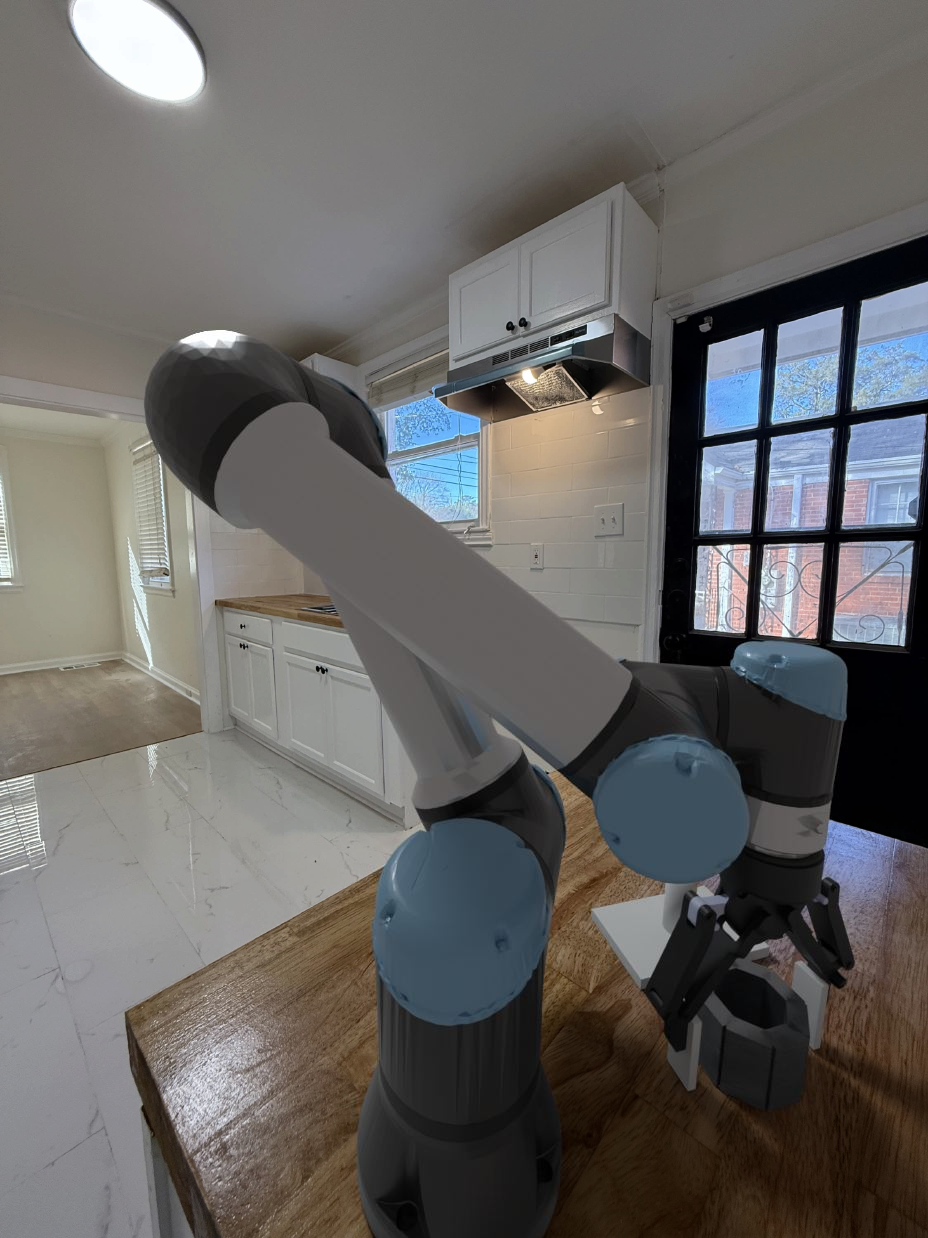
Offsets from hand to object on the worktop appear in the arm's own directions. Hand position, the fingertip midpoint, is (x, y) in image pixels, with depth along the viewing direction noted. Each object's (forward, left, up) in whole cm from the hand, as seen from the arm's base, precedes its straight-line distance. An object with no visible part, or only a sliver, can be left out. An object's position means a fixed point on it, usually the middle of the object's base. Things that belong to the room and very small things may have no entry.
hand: (744, 1054), depth 45 cm
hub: (0, 0, 0) cm, 0 cm away
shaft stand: (+3, +13, 0) cm, 13 cm away
